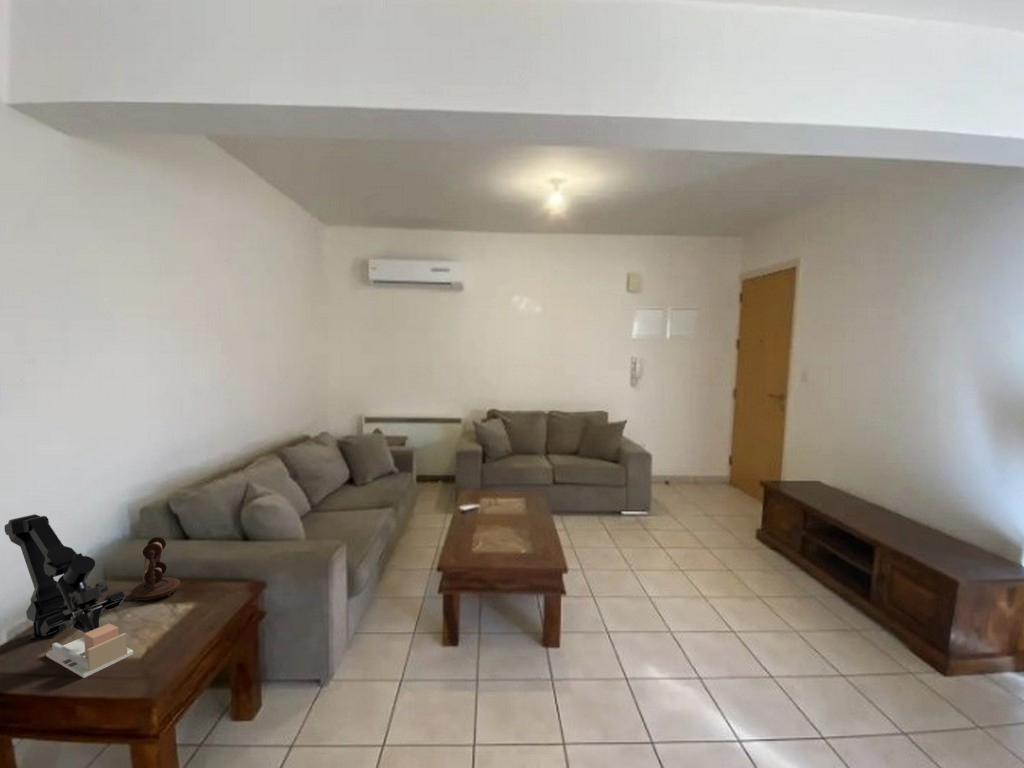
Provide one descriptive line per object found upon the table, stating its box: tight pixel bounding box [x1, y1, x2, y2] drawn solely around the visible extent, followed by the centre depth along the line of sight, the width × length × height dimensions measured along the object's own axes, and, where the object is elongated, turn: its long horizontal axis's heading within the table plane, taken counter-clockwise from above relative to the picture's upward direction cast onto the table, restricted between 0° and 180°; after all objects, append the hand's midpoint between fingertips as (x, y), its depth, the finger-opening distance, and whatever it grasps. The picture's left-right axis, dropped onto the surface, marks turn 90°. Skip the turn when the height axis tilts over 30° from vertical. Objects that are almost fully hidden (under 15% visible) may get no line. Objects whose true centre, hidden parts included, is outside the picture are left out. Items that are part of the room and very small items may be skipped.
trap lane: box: [45, 632, 134, 679], centre depth 145 cm, size 21×12×7 cm, turn 64°
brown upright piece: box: [130, 536, 181, 603], centre depth 181 cm, size 15×15×20 cm
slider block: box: [83, 622, 120, 659], centre depth 141 cm, size 5×6×8 cm
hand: (96, 637), depth 143 cm, fingers closed, pressing on slider block
